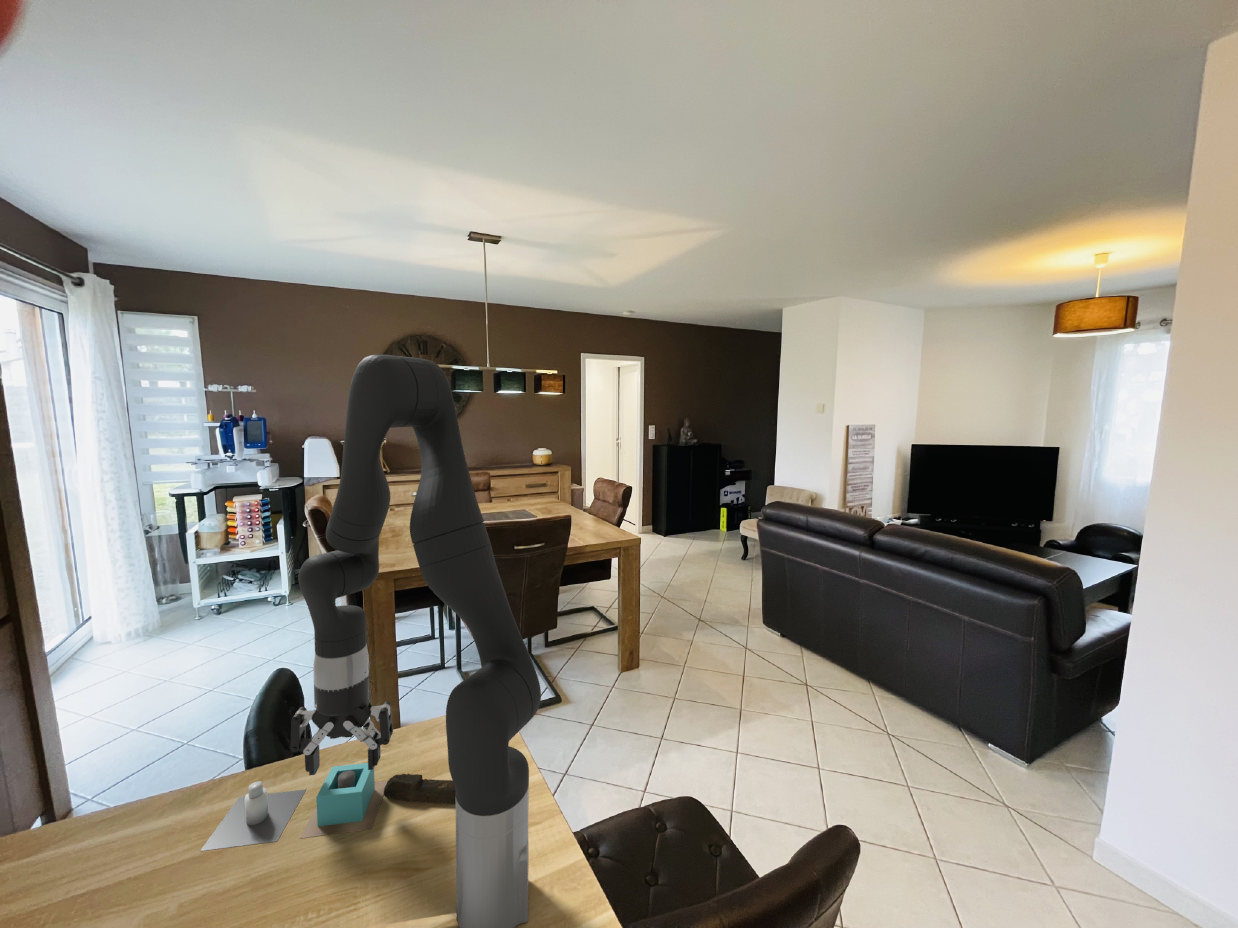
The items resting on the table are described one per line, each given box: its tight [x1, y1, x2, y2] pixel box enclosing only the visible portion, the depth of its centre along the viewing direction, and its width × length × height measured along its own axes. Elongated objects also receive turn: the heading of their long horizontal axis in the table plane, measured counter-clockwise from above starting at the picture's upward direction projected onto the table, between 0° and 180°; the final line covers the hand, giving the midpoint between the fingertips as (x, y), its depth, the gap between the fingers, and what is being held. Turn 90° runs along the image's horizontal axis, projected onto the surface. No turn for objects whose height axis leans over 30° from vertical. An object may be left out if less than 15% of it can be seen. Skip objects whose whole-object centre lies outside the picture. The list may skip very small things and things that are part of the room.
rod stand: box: [299, 770, 389, 839], centre depth 78 cm, size 10×10×6 cm
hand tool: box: [383, 773, 456, 805], centre depth 82 cm, size 19×4×5 cm, turn 87°
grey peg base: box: [199, 780, 307, 852], centre depth 76 cm, size 10×10×6 cm
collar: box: [315, 762, 375, 826], centre depth 78 cm, size 6×6×5 cm
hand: (344, 768), depth 78 cm, fingers open, 8 cm apart
